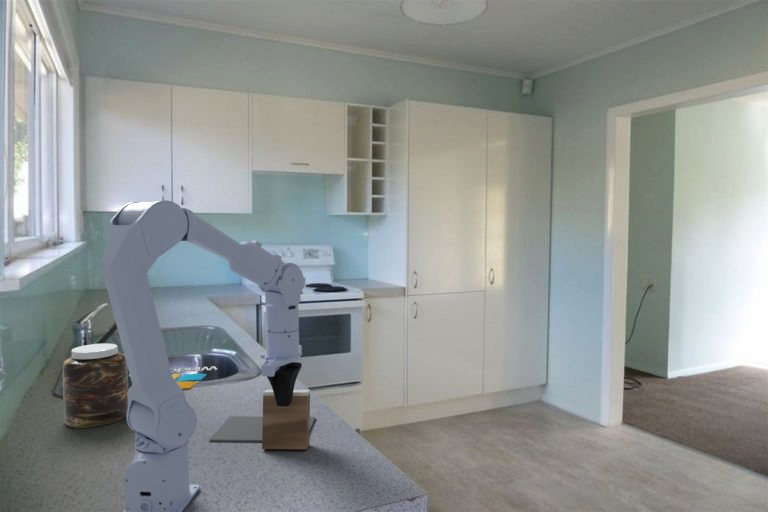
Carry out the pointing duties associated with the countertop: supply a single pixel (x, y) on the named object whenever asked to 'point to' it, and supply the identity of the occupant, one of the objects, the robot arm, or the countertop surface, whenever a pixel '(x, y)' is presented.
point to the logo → (189, 377)
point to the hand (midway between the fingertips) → (283, 405)
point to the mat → (242, 429)
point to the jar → (95, 386)
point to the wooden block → (286, 421)
